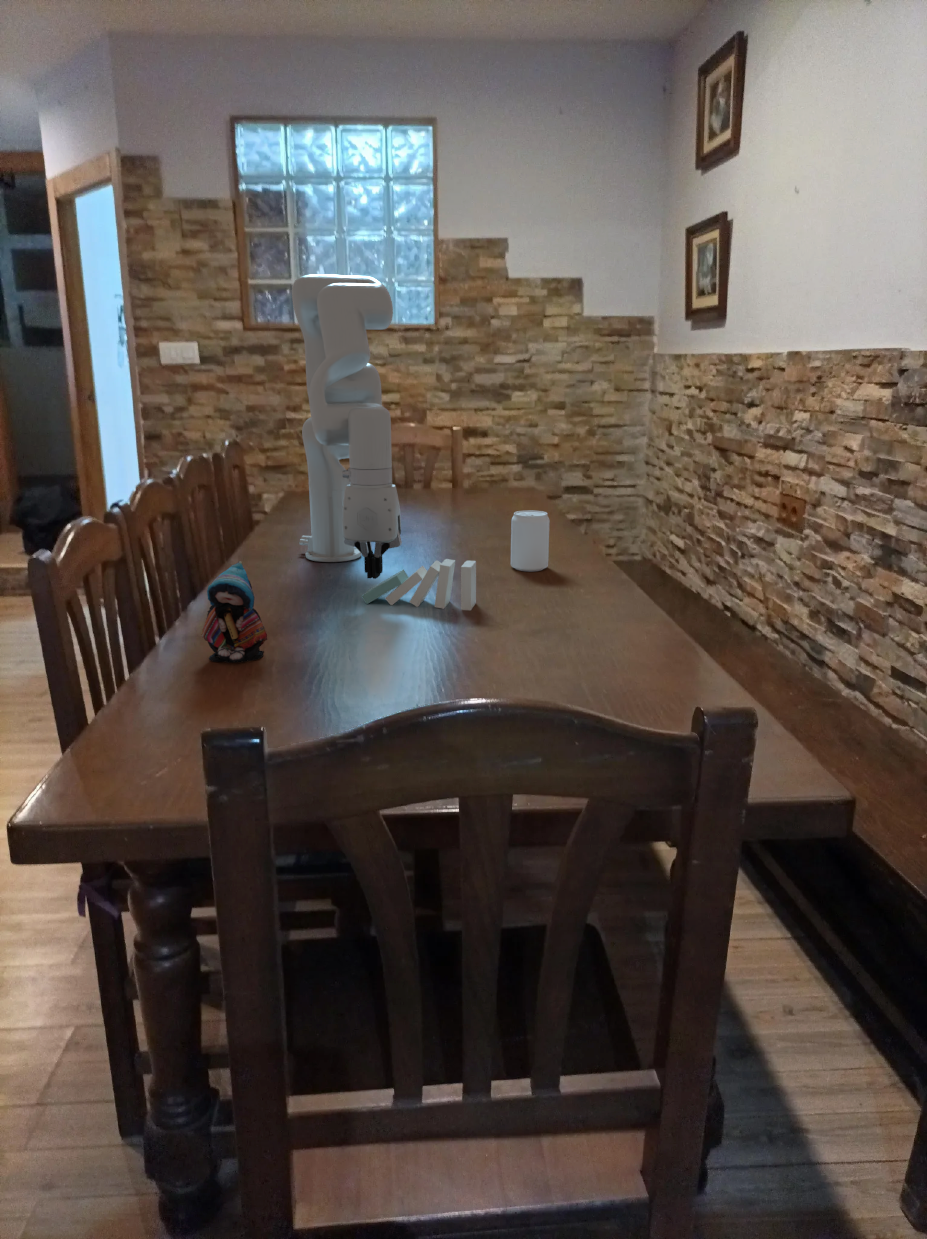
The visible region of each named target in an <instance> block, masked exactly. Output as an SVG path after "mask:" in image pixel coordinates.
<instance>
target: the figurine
mask: <svg viewBox="0 0 927 1239" xmlns="http://www.w3.org/2000/svg"><path fill="white" fill-rule="evenodd" d="M206 595H207V600H208V601H209V603H210V607H209V610H207V614H206V620H205V621H204V624H203V628H202V632H201V634H200V635H201V637H202V638H203V639H204V641H206V642H207V643H208V645H209V647H210V649H211V650H212V652H214V653H212V654H211V655H210V656H209V657H208V660H209V661H210V662H213V663H215V662H216V663H217V662H218V663H219V662H222V663H247V662H250V661H256V660H259V659H262V658H263V657H264V653H265V651H264V650H260V647H261V646H263V644H264V643H265V642H266V641H267V640H268V633H267V631H266V628H265V626H264V624H263V622H262V619H261V617H260V615H259V613H258V611H257V610H256V609H255V608H254V607H255V605H254V604H255V593H254V591H253V587H252V583H251V581H250V580H249V577H248V574H247V571H246V570H245V568H244V565H243V562H242V561H240V560H238V562H237V563H234V564H232V565H230V567H229V568H227V569H226V570H224V571H223V572H222V573H219V575H218V576H216V578H215V579H213V581H212V583H211V584H209V585H208V587H207V589H206Z"/></svg>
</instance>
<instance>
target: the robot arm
mask: <svg viewBox="0 0 927 1239" xmlns="http://www.w3.org/2000/svg"><path fill="white" fill-rule="evenodd" d="M291 297H292V298H291V299H292V306H293V310H294V313H295V317H296V321H297V323H298V325H299V328H300V332H301V334H302V338H303V342H304V354H305V355H304V356H305V359H304V360H305V377H306V378H305V379H306V380H305V381H306V391H307V392H306V393H307V397H308V403H309V404H308V405H309V414H310V417H308V418H307V419H306V420H305V421H304V423H303V425H302V428H301V431H302V432H301V436H302V442H303V447H304V452H305V458H306V464H307V474H308V477H307V478H308V490H309V491H308V492H309V510H310V512H309V514H310V532H311V535H301V537H300V539H299V542H298V544H299V545H300V546H307V550H305V558H306V559H307V560H310V561H314V562H319V563H320V562H322V563H338V562H347V561H348V562H349V561H353V560H357V559H359V558H361V556H362V557H363V559H364V560H363V561H364V573H365V574H366V578H367V579H374V580H376V579H378V578H379V577H380V576H381V574H382V573H383V567H384V566H383V555H384V554H385V553H386V552H388V550H389V549H394V548H398V547H400V546H402V544H403V543H402V542H403V541H402V537H401V534H402V520H401V518H402V517H401V509H400V508H401V507H400V500H399V495H398V491H397V486H396V484H393V465H392V463H393V462H392V460H393V459H392V458H393V457H392V422H391V413H390V411H389V410H388V409H387V408H386V407H385V406H383V399H382V398H383V396H382V393H383V392H382V381H381V378H380V374H379V371H378V370H377V368H376V367H375V366H374V365H373V364H371V363H369V362H370V360H371V349H370V345H369V340H368V335H367V330H377V331H378V330H386V329H388V328H389V327H390V325H391V323H392V320H393V314H394V312H393V311H394V310H393V309H394V308H393V301H392V297H391V295H390V292H389V290H388V288H387V287H386V286H385V285H384V284H383V283H381V281H379V280H377V279H376V278H374V276H373V277H372V276H368V275H350V274H349V275H345V274H344V275H343V274H327V273H326V274H324V273H323V274H322V273H321V274H320V273H319V274H318V273H317V274H314V273H313V274H306V275H302V276H300V277H298V278H296V279H295V280H294V282H293V284H292V288H291ZM342 459H343V460H345V459H349V467H348V469H346V468H345V466H343V465H342V464H341V462H340V460H342ZM372 543H375V544H374V549H373V547H372ZM373 550H374V552H373Z"/></svg>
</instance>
